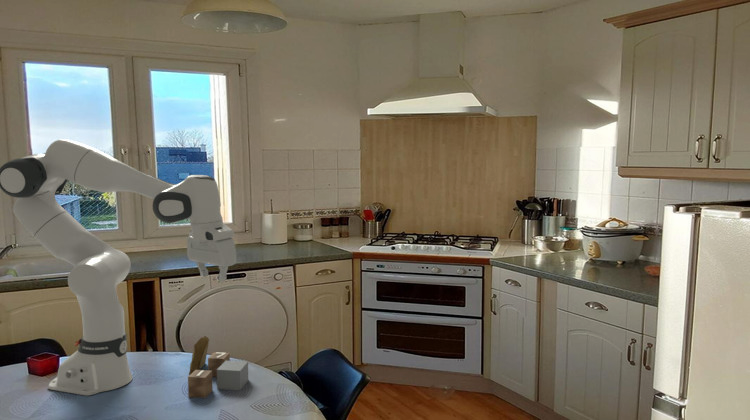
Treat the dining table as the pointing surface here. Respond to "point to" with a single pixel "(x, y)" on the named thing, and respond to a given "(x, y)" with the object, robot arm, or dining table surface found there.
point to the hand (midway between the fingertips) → (213, 278)
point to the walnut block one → (200, 383)
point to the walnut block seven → (217, 361)
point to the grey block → (232, 375)
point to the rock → (199, 354)
